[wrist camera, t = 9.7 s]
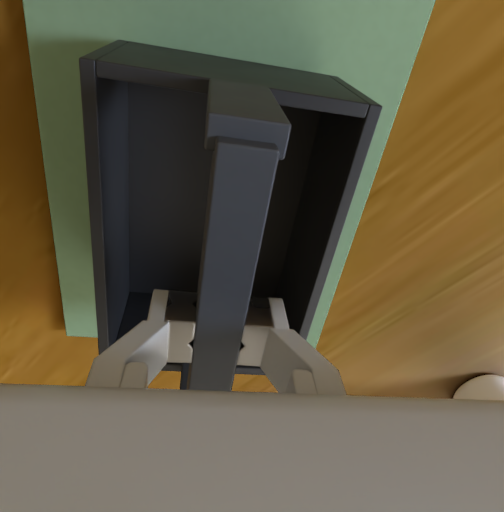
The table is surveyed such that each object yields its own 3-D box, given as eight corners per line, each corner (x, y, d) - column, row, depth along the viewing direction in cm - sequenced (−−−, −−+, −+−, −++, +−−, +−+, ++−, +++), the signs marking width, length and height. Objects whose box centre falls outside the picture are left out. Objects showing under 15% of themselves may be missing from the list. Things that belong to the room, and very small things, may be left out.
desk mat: (12, -131, 15) (3, -137, 14) (440, -37, 18) (449, -38, 17) (69, 328, 28) (66, 336, 27) (313, 341, 31) (315, 349, 30)
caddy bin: (117, 38, 17) (8, 89, 8) (337, 76, 19) (456, 153, 9) (122, 292, 24) (69, 466, 15) (279, 303, 26) (314, 468, 17)
